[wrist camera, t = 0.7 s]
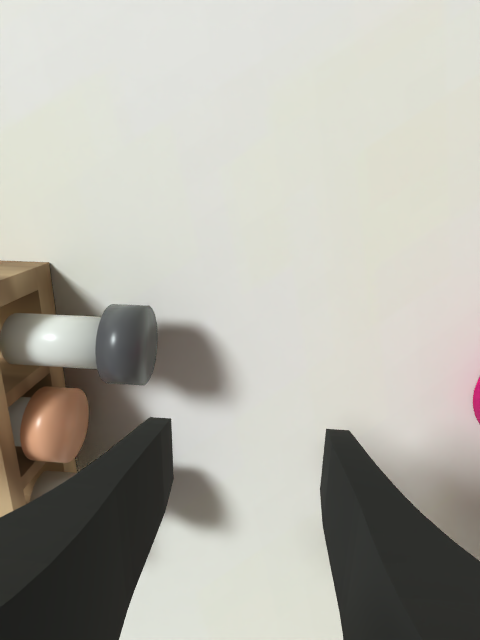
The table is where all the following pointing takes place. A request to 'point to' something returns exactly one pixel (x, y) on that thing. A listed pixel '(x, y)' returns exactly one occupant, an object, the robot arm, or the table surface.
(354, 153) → the table surface
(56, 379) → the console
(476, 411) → the pepper mill
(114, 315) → the knob
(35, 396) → the knob middle
